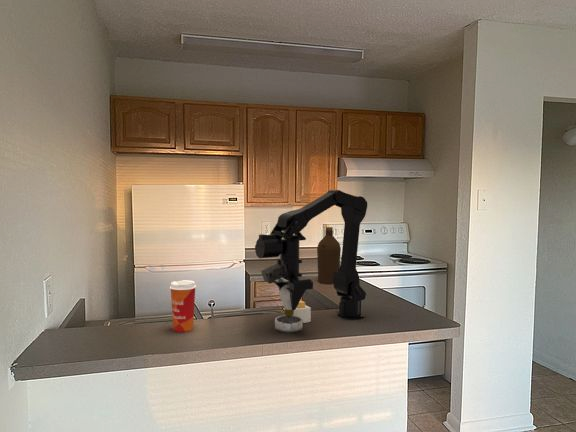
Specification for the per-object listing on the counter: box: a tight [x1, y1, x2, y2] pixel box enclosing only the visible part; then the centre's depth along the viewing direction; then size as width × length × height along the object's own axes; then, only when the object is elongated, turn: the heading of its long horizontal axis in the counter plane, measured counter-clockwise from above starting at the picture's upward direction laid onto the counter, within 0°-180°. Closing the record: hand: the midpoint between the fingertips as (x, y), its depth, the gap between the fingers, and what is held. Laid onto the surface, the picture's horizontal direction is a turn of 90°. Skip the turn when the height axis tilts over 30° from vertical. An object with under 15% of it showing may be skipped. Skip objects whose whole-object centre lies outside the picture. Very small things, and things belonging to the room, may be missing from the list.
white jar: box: [292, 304, 312, 324], centre depth 135 cm, size 5×5×5 cm
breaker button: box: [297, 300, 306, 308], centre depth 135 cm, size 2×2×3 cm
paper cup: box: [169, 279, 197, 333], centre depth 125 cm, size 8×8×14 cm
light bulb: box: [279, 284, 294, 317], centre depth 127 cm, size 6×6×10 cm
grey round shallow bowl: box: [274, 314, 304, 334], centre depth 128 cm, size 8×8×3 cm
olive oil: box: [316, 226, 342, 285], centre depth 192 cm, size 11×11×25 cm
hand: (289, 307), depth 127 cm, fingers closed on light bulb, 5 cm apart
